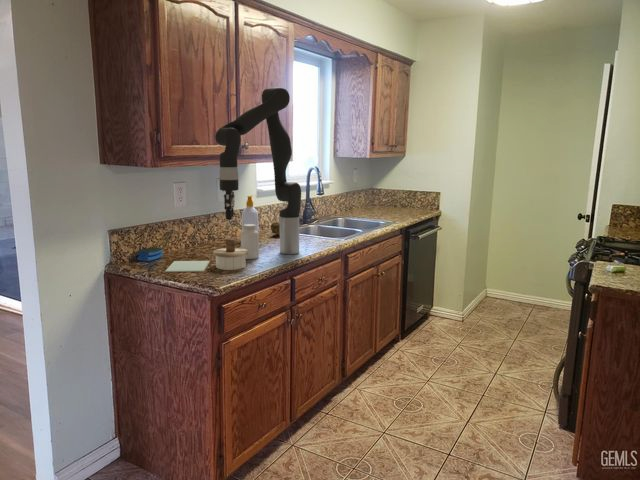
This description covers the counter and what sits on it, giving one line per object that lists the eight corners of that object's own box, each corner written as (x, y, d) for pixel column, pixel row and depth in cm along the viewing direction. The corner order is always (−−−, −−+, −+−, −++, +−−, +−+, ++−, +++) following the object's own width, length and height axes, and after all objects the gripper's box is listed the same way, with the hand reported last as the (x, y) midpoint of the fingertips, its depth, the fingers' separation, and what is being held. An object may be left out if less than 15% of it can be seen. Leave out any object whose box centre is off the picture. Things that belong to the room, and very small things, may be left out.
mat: (174, 262, 209) (174, 261, 209) (209, 261, 211) (209, 260, 210) (165, 272, 193) (165, 270, 193) (203, 271, 194) (203, 270, 194)
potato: (291, 234, 277) (291, 220, 276) (277, 238, 267) (277, 223, 265) (279, 233, 282) (279, 219, 280) (265, 236, 271) (265, 222, 270)
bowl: (218, 263, 208) (217, 250, 207) (246, 262, 210) (246, 250, 208) (214, 270, 197) (214, 256, 196) (244, 269, 198) (244, 256, 197)
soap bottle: (260, 239, 263) (259, 195, 259) (256, 242, 254) (255, 197, 250) (245, 238, 264) (244, 194, 260) (240, 241, 255) (239, 196, 251)
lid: (215, 250, 208) (215, 236, 207) (248, 249, 210) (248, 236, 208) (211, 257, 195) (210, 242, 194) (246, 257, 196) (246, 242, 195)
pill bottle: (251, 260, 214) (250, 226, 211) (237, 258, 218) (236, 225, 215) (262, 257, 221) (262, 224, 218) (248, 254, 225) (248, 222, 222)
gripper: (236, 179, 190) (237, 220, 193) (239, 177, 204) (240, 215, 207) (217, 179, 189) (218, 220, 192) (221, 177, 203) (222, 215, 206)
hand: (229, 218), depth 199 cm, fingers open, 8 cm apart
